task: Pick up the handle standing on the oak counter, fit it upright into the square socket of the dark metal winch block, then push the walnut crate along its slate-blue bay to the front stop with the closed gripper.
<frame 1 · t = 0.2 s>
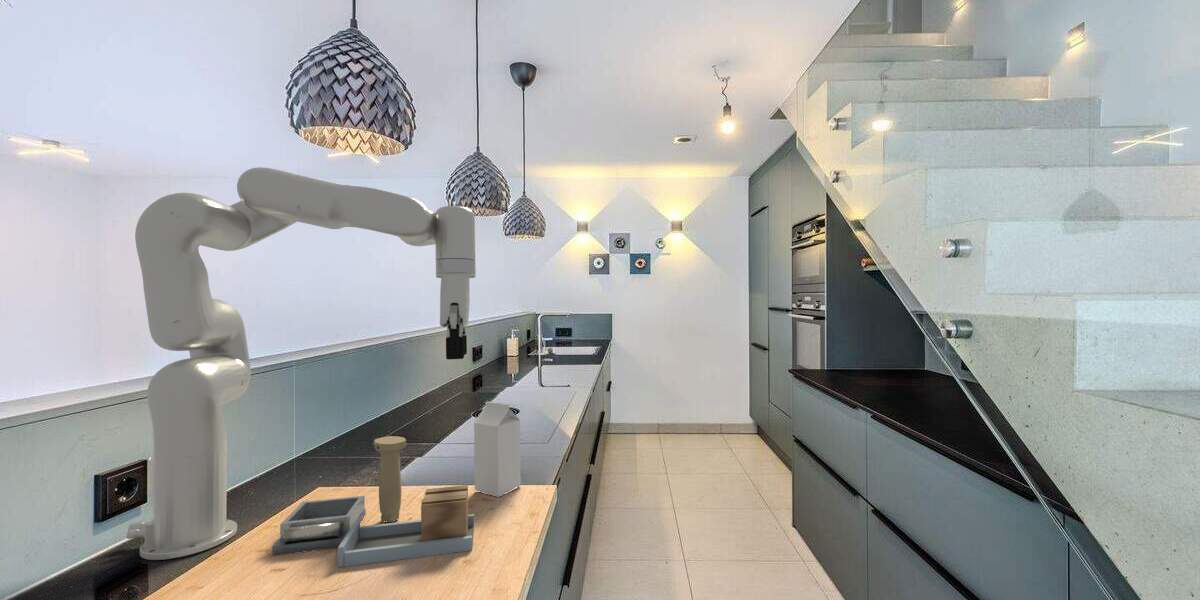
hand: (457, 356, 91), 30 cm above the table, tool pointing down, fingers open, 9 cm apart
crate: (445, 514, 79), point 4 cm above the table, slide at 0.0 cm
milk carton: (498, 490, 102), on the table
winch: (322, 534, 82), on the table
bay: (414, 543, 78), on the table
handle: (390, 521, 87), on the table
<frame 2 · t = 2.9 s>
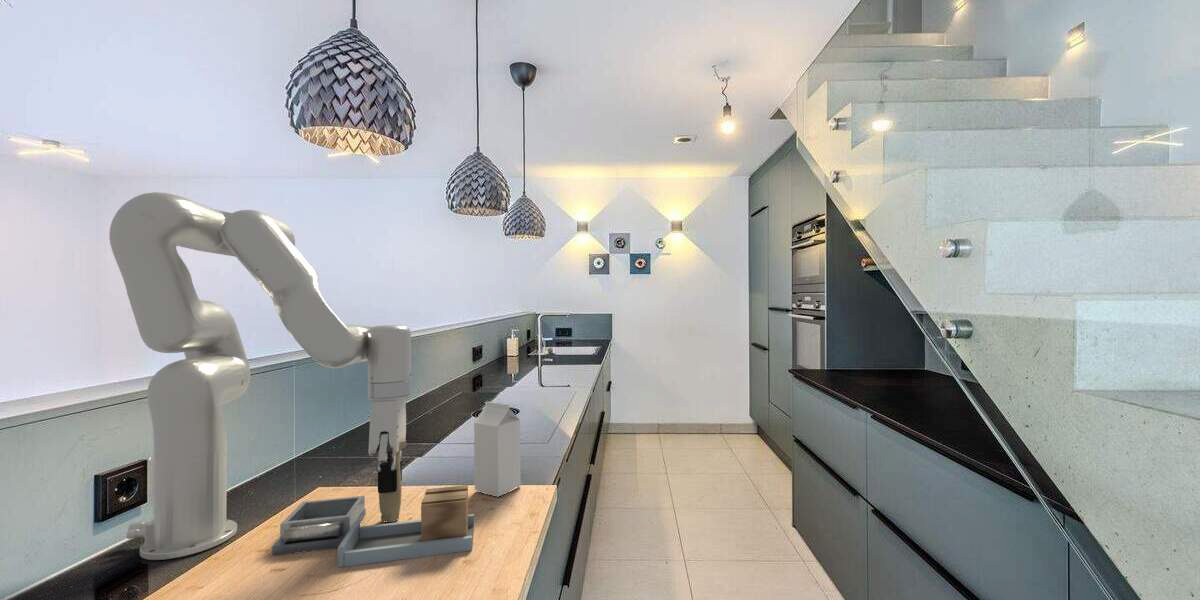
hand: (390, 486, 88), 6 cm above the table, tool pointing down, fingers closed on handle, 4 cm apart
handle: (390, 521, 87), on the table, touching gripper
everything else where it was.
when the fingers open (9 cm above the table, at t = 7.1 s): handle drops 1 cm, resting on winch.
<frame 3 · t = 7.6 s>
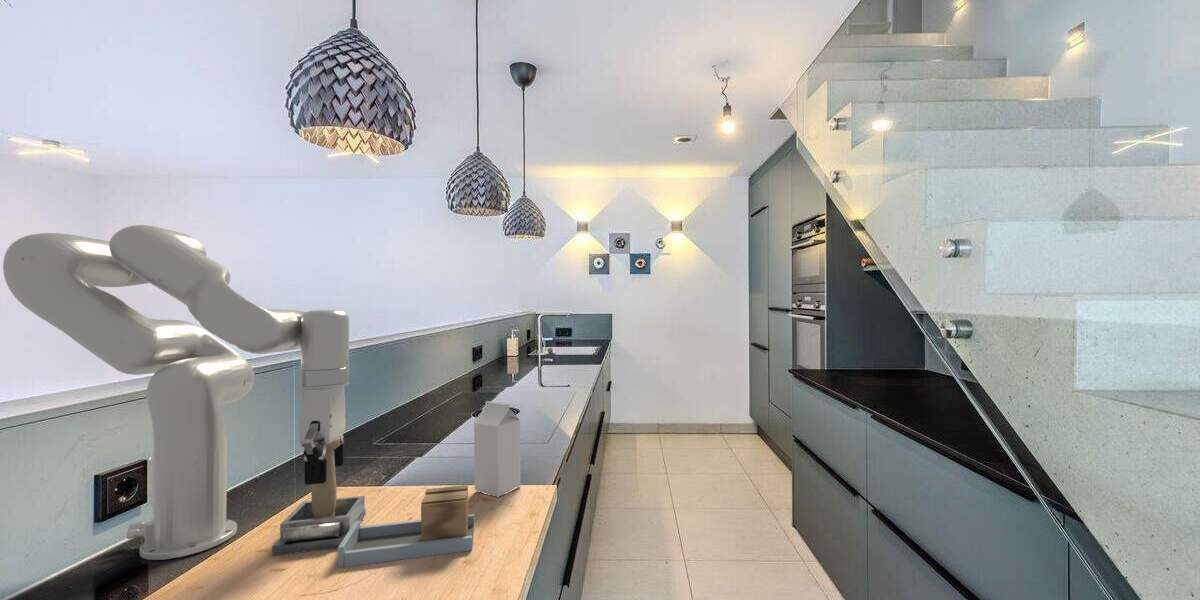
hand: (325, 474, 84), 10 cm above the table, tool pointing down, fingers open, 9 cm apart
handle: (324, 524, 83), point 1 cm above the table, touching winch
everything else where it was.
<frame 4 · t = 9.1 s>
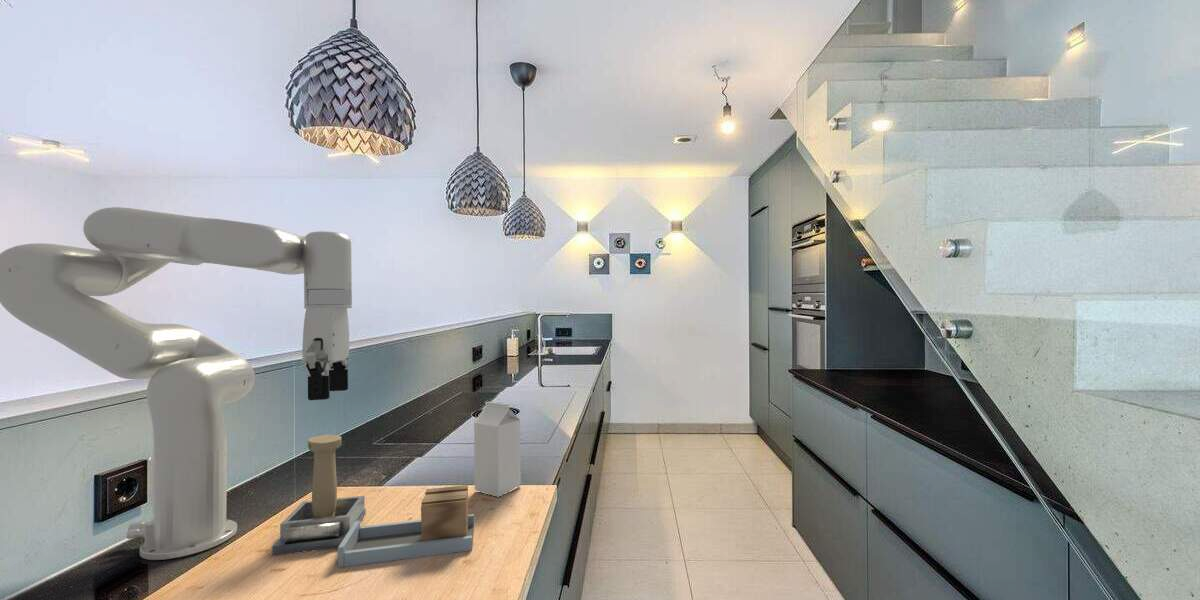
hand: (329, 394, 84), 24 cm above the table, tool pointing down, fingers open, 9 cm apart
nothing on the table moved.
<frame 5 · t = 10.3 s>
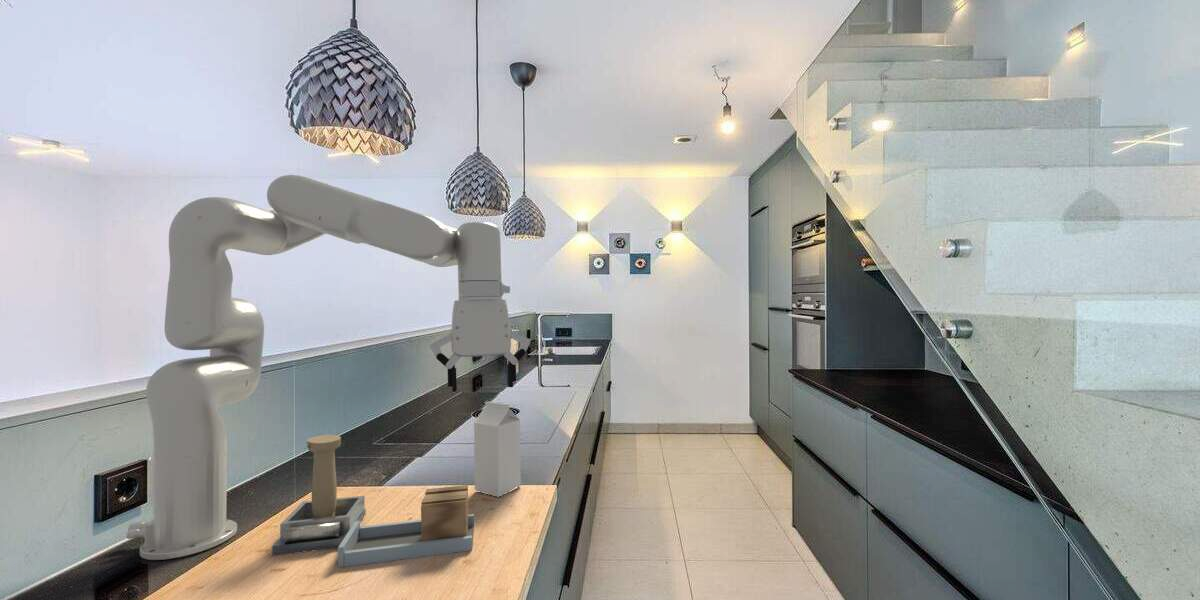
hand: (482, 388, 82), 25 cm above the table, tool pointing down, fingers open, 9 cm apart
nothing on the table moved.
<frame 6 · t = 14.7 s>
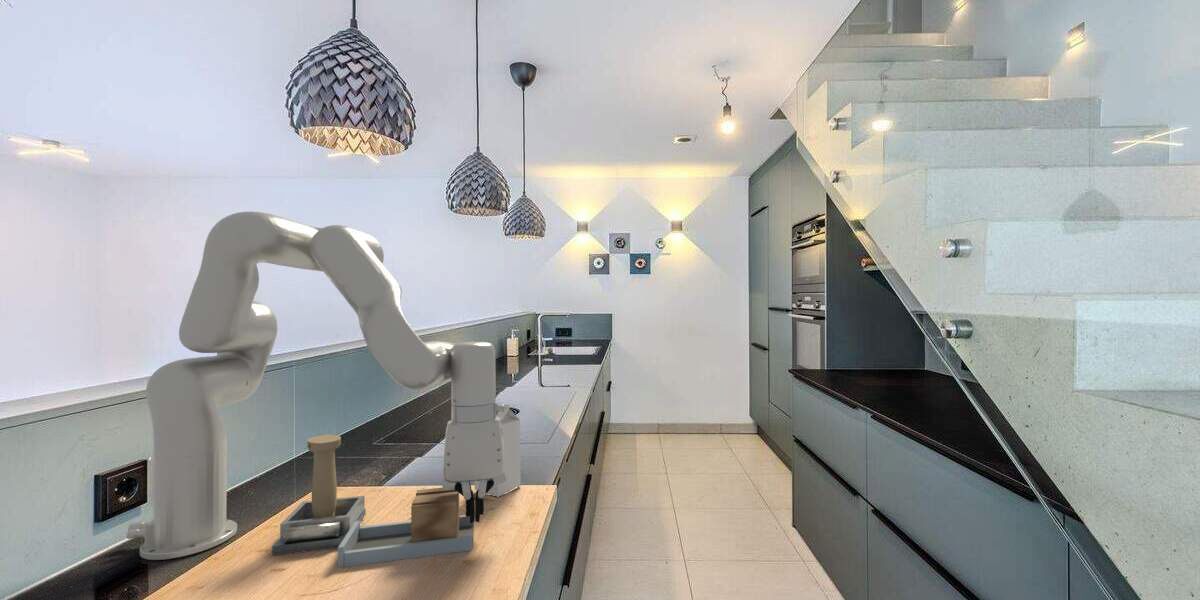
hand: (474, 519, 80), 3 cm above the table, tool pointing down, fingers closed
crate: (436, 516, 79), point 4 cm above the table, slide at 1.5 cm, touching gripper
everything else where it was.
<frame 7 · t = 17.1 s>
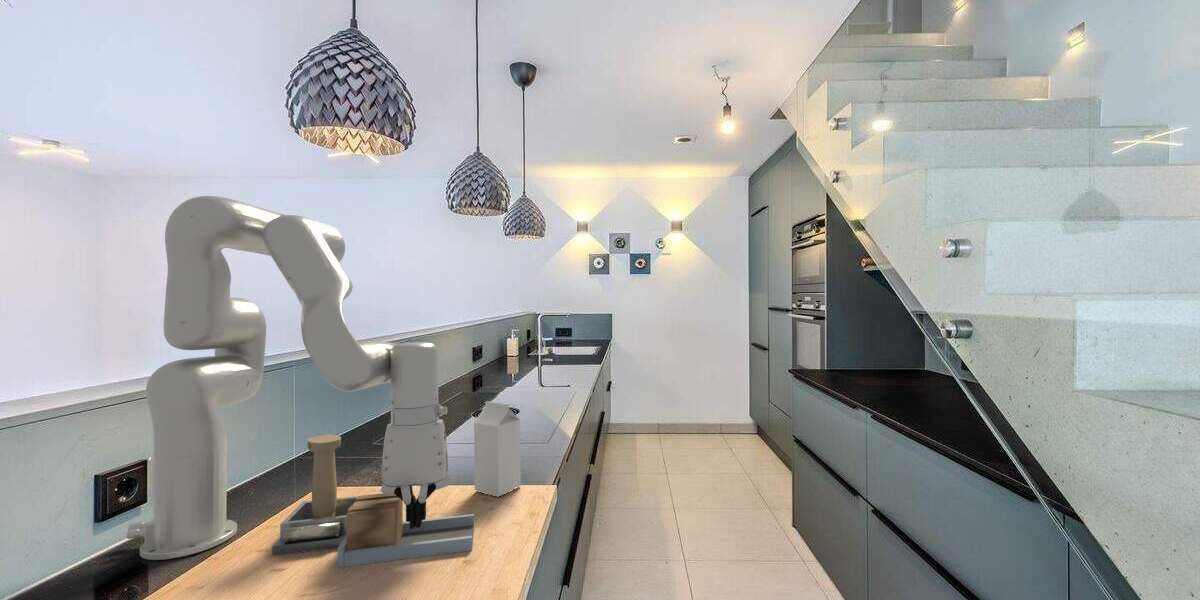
hand: (416, 524, 78), 3 cm above the table, tool pointing down, fingers closed
crate: (376, 522, 77), point 4 cm above the table, slide at 11.0 cm, touching gripper
everything else where it was.
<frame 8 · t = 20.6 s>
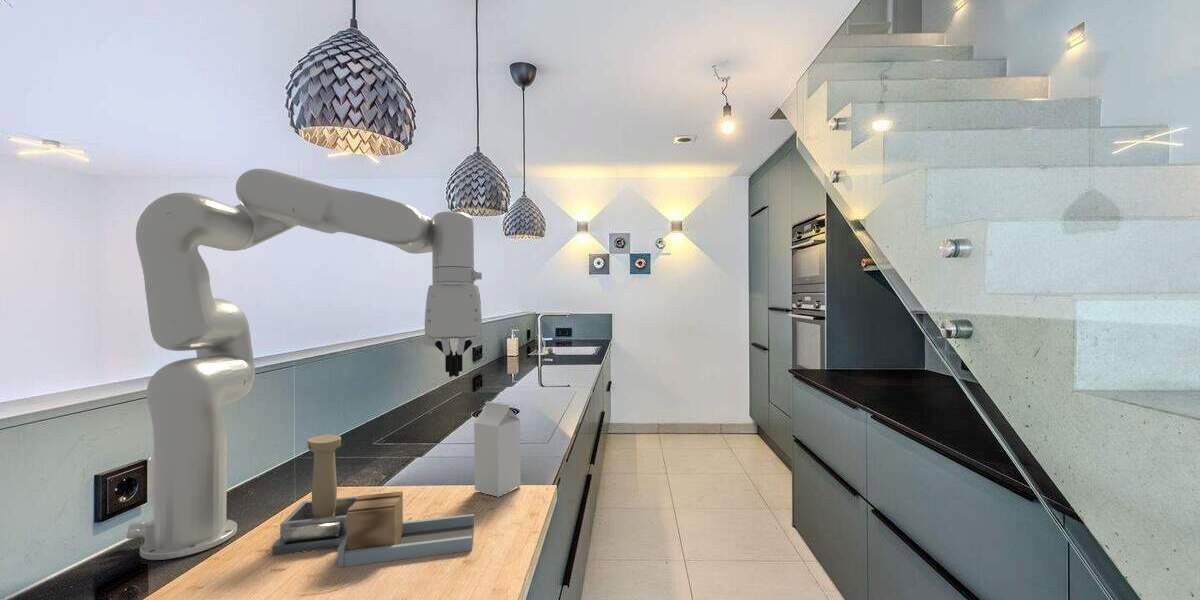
hand: (454, 375, 87), 27 cm above the table, tool pointing down, fingers closed
crate: (376, 522, 77), point 4 cm above the table, slide at 11.0 cm
everything else where it was.
at the end: handle 0.2 cm from the target spot on the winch, point 1.3 cm above the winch's base; handle tilted 0°; crate slide at 11.0 cm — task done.
